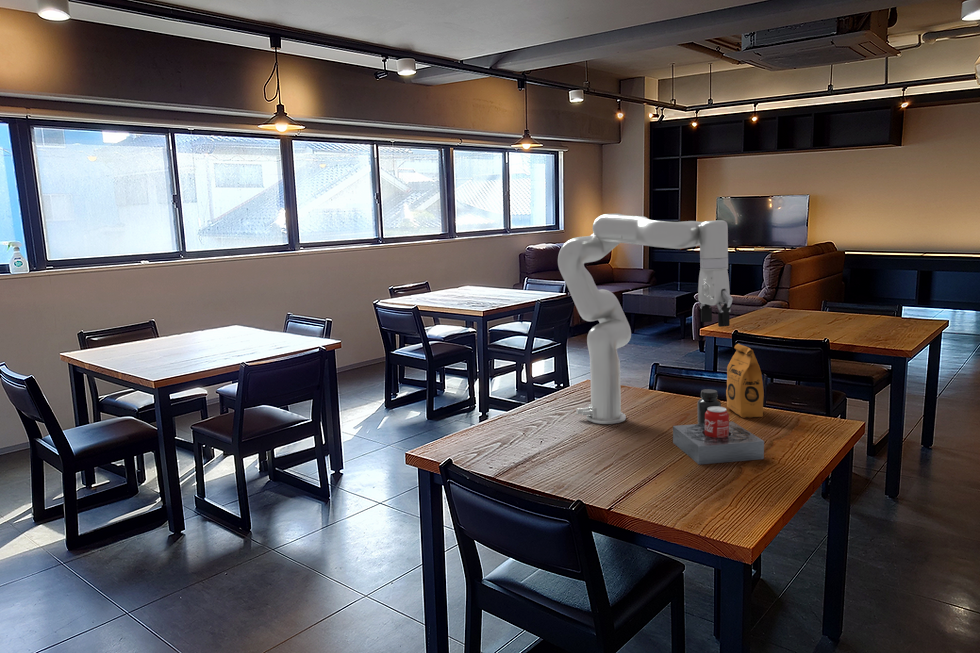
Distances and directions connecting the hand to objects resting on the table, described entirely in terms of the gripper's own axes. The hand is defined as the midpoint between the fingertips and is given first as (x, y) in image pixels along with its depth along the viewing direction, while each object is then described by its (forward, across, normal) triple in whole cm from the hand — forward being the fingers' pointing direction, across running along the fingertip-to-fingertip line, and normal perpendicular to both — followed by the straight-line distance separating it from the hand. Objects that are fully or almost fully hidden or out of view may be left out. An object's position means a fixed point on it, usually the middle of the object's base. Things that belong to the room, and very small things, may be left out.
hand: (714, 324), depth 196 cm
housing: (+34, +11, -6) cm, 36 cm away
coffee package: (+34, -18, +20) cm, 43 cm away
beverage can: (+34, +11, -6) cm, 36 cm away
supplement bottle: (+34, -7, +1) cm, 34 cm away
